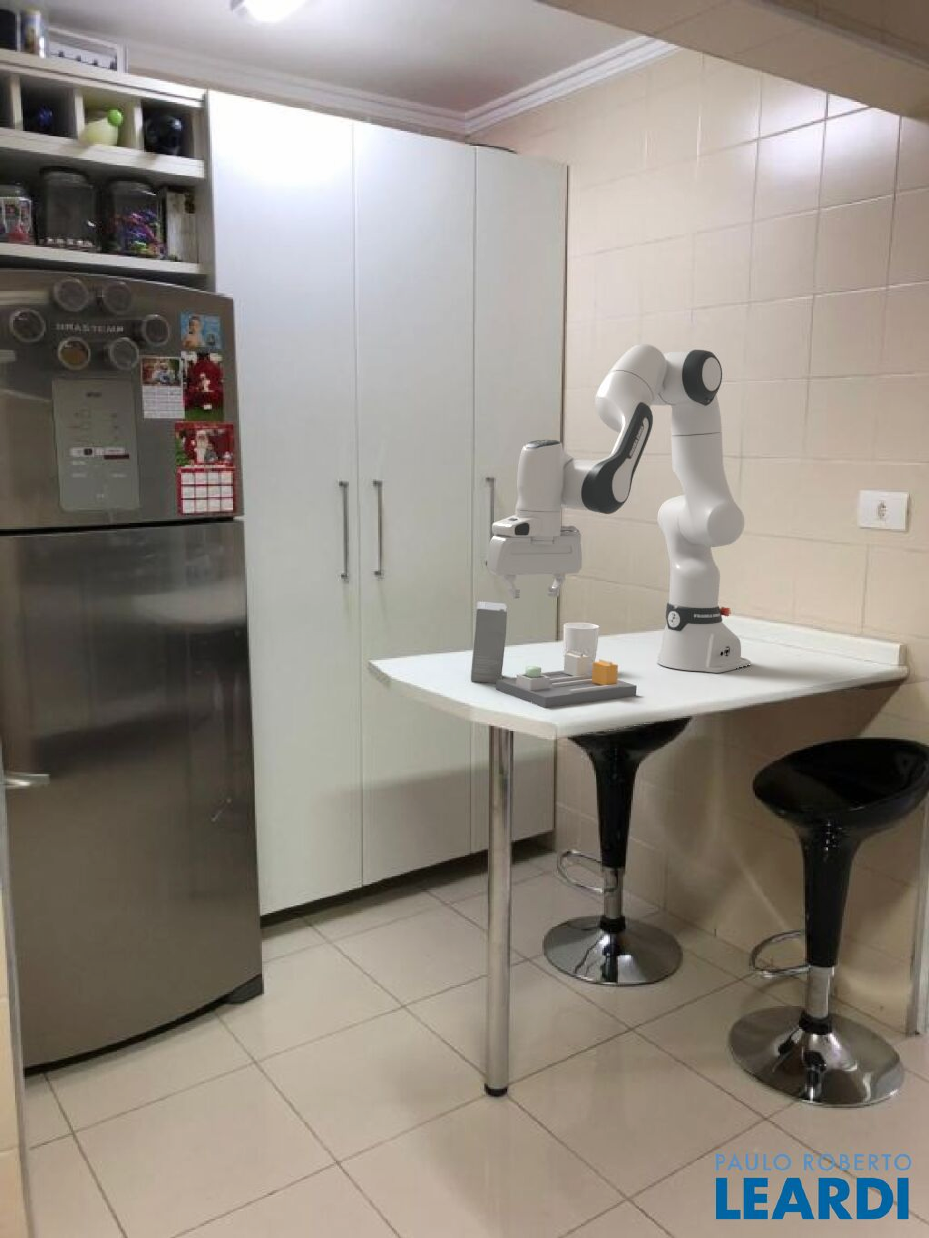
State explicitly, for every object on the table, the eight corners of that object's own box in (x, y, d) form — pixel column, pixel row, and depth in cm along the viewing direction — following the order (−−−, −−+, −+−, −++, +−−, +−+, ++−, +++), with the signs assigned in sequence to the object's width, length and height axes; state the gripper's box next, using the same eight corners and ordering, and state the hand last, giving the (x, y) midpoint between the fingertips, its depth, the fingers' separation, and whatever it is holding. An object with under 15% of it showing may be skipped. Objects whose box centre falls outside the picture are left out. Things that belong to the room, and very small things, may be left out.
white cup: (592, 675, 218) (594, 629, 216) (557, 671, 220) (559, 626, 219) (600, 668, 225) (602, 624, 223) (566, 664, 228) (568, 621, 226)
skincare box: (471, 673, 215) (473, 600, 212) (504, 674, 214) (507, 602, 212) (470, 682, 206) (472, 606, 204) (504, 683, 206) (507, 608, 204)
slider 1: (575, 671, 210) (576, 650, 209) (587, 675, 206) (588, 653, 205) (564, 672, 208) (565, 651, 207) (576, 676, 205) (577, 654, 204)
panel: (584, 678, 213) (585, 659, 213) (636, 695, 200) (637, 674, 199) (496, 689, 201) (497, 669, 200) (544, 707, 188) (546, 686, 187)
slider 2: (603, 680, 202) (604, 658, 201) (616, 684, 199) (618, 661, 198) (592, 681, 200) (593, 659, 200) (605, 685, 197) (606, 663, 196)
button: (534, 675, 197) (535, 665, 197) (543, 678, 195) (544, 668, 194) (522, 677, 196) (522, 667, 195) (531, 680, 193) (532, 670, 193)
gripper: (571, 524, 199) (566, 593, 201) (484, 524, 188) (481, 596, 190) (590, 527, 194) (586, 597, 196) (503, 527, 183) (499, 601, 185)
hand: (533, 597), depth 193 cm, fingers open, 8 cm apart
